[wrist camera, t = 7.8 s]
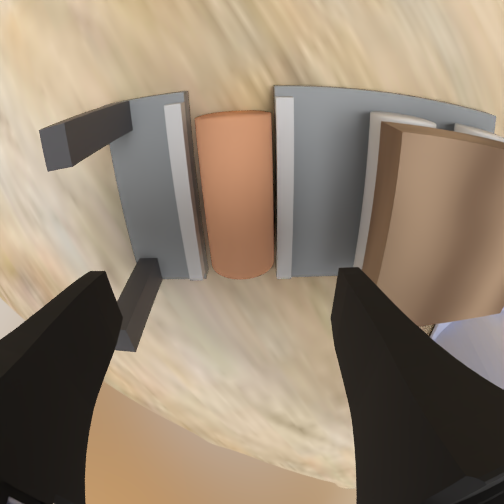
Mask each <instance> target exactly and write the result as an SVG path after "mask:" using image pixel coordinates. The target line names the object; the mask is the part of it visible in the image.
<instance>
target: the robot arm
mask: <svg viewBox="0 0 504 504" xmlns="http://www.w3.org/2000/svg"><path fill="white" fill-rule="evenodd" d="M122 320H123V316H122V314H121V311H120V309H119V306H118V304H117V301H116V299H115V296H114V294H113V291H112V288H111V286H110V283H109V280H108V277H107V274H106V272H105V271H90V272H88V273H86V274H85V275H83V276H82V277H81V278H79V279H78V280H76V281H75V282H74V283H72V284H71V285H70V286H69V287H67V288H66V289H65V290H64V291H62V292H61V293H60V294H59V295H57V296H56V297H55V298H54V299H52V300H51V301H50V302H49V303H47V304H46V305H45V306H44V307H43V308H41V309H40V310H39V311H38V312H36V313H35V314H34V315H32V316H31V317H30V318H29V319H27V320H26V321H25V322H24V323H22V324H21V325H20V326H19V327H18V328H16V329H15V330H13V331H12V332H11V333H9V334H8V335H6V336H5V337H3V338H2V339H1V340H0V504H53V503H54V504H85V463H86V452H87V451H86V450H87V444H88V436H89V430H90V424H91V419H92V415H93V410H94V406H95V403H96V399H97V396H98V393H99V391H100V388H101V385H102V382H103V380H104V377H105V374H106V371H107V369H108V366H109V364H110V361H111V358H112V355H113V353H114V350H115V347H116V345H117V341H118V337H119V333H120V329H121V325H122ZM331 324H332V331H333V339H334V346H335V350H336V354H337V358H338V362H339V366H340V370H341V374H342V378H343V382H344V386H345V390H346V394H347V398H348V403H349V407H350V412H351V418H352V425H353V435H354V445H355V460H356V486H357V504H504V307H503V309H502V311H501V313H499V314H494V315H489V316H483V317H478V318H472V319H466V320H460V321H453V322H447V323H440V324H436V325H435V327H434V329H433V332H432V334H431V336H430V337H429V336H428V335H427V334H426V333H425V332H424V331H422V330H421V329H420V328H419V327H418V326H417V325H416V324H415V323H414V322H413V321H412V320H410V319H409V318H408V317H407V316H406V315H405V314H404V313H403V312H402V311H401V310H400V309H399V308H398V307H397V306H396V305H395V304H394V303H393V302H392V301H391V300H390V299H389V298H388V297H387V296H386V295H385V294H384V293H383V292H382V291H381V289H380V288H379V287H378V286H377V285H376V284H375V283H374V282H373V281H372V280H371V279H370V278H369V277H368V276H367V275H366V274H365V273H364V272H363V271H362V270H361V269H360V268H359V267H343V268H339V270H338V277H337V283H336V290H335V296H334V302H333V308H332V314H331Z"/></svg>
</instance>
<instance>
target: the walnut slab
mask: <svg viewBox="0 0 504 504" xmlns="http://www.w3.org/2000/svg"><path fill="white" fill-rule="evenodd" d="M362 271H363V272H364V273H365V274H366V275H367V276H368V277H369V278H370V279H371V280H372V281H373V282H374V283H375V284H376V285H377V286H378V287H379V288H380V289H381V291H382V292H383V293H384V294H385V295H386V296H387V297H388V298H389V299H390V300H391V301H392V302H393V303H394V304H395V305H396V306H397V307H398V308H399V309H400V310H401V311H402V312H403V313H404V314H405V315H406V316H407V317H408V318H409V319H410V320H412V321H413V322H414V323H415V324H416V325H417V326H425V325H433V324H440V323H447V322H453V321H460V320H466V319H472V318H478V317H483V316H489V315H494V314H499V313H501V311H502V309H503V307H504V142H500V141H496V140H492V139H488V138H484V137H479V136H474V135H470V134H465V133H460V132H454V131H449V130H443V129H437V128H431V127H424V126H417V125H410V124H402V123H393V122H384V121H381V128H380V142H379V153H378V164H377V173H376V182H375V190H374V198H373V206H372V213H371V219H370V226H369V232H368V238H367V244H366V250H365V256H364V261H363V266H362Z"/></svg>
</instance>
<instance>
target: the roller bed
mask: <svg viewBox="0 0 504 504" xmlns="http://www.w3.org/2000/svg"><path fill="white" fill-rule="evenodd" d="M381 121H384V122H393V123H402V124H410V125H417V126H424V127H431V128H437V129H443V130H449V131H454V132H460V133H465V134H470V135H474V136H479V137H484V138H488V139H492V140H496V141H500V142H504V138H503V137H501V136H499V135H496V134H494V130H495V122H496V116H494V115H491V114H489V113H486V112H482V111H478V110H475V109H471V108H467V107H463V106H459V105H454V104H450V103H446V102H441V101H436V100H431V99H426V98H420V97H415V96H409V95H402V94H396V93H389V92H381V91H372V90H363V89H352V88H340V87H323V86H290V85H274V122H275V181H276V277H277V279H291V277H310V276H338V270H339V268H343V267H359V268H360V269H361V270H362V266H363V261H364V256H365V250H366V244H367V238H368V232H369V226H370V219H371V213H372V206H373V198H374V190H375V182H376V173H377V164H378V153H379V142H380V128H381ZM39 133H40V138H41V143H42V148H43V153H44V157H45V162H46V166H47V170H48V171H53V170H58V169H63V168H68V167H73V166H74V165H76V164H77V163H79V162H80V161H82V160H83V159H85V158H87V157H88V156H90V155H91V154H93V153H95V152H96V151H98V150H99V149H101V148H103V147H104V146H106V145H108V144H110V150H111V156H112V161H113V166H114V171H115V176H116V181H117V186H118V191H119V195H120V200H121V204H122V209H123V213H124V217H125V221H126V225H127V229H128V233H129V237H130V241H131V245H132V248H133V252H134V256H135V259H136V263H137V264H136V266H135V268H134V270H133V272H132V274H131V276H130V277H129V279H128V281H127V283H126V285H125V287H124V289H123V291H122V293H121V295H120V297H119V299H118V301H117V304H118V306H119V309H120V311H121V314H122V316H123V320H122V325H121V329H120V333H119V337H118V341H117V345H116V347H115V350H119V351H130V352H136V350H137V347H138V344H139V341H140V338H141V336H142V333H143V330H144V327H145V324H146V322H147V319H148V316H149V313H150V311H151V308H152V305H153V303H154V300H155V297H156V295H157V292H158V290H159V287H160V284H161V282H162V279H190V280H204V279H206V278H207V273H208V263H207V256H206V249H205V242H204V234H203V227H202V219H201V211H200V203H199V195H198V187H197V178H196V169H195V160H194V151H193V141H192V131H191V120H190V109H189V97H188V91H182V92H175V93H167V94H160V95H154V96H148V97H142V98H136V99H131V100H126V101H120V102H116V103H111V104H108V105H105V106H103V107H100V108H97V109H94V110H91V111H88V112H85V113H82V114H79V115H76V116H74V117H71V118H68V119H66V120H63V121H60V122H58V123H55V124H53V125H50V126H48V127H45V128H43V129H41V130H39Z"/></svg>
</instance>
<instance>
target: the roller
mask: <svg viewBox="0 0 504 504" xmlns="http://www.w3.org/2000/svg"><path fill="white" fill-rule="evenodd" d="M195 126H196V137H197V147H198V156H199V165H200V175H201V183H202V192H203V200H204V208H205V216H206V224H207V232H208V240H209V247H210V254H211V261H212V267H213V269H214V270H215V271H216V272H217V273H218V274H220V275H222V276H224V277H227V278H231V279H250V278H254V277H257V276H260V275H262V274H264V273H266V272H267V271H268V270H269V269H270V268H271V267H272V265H273V263H274V213H273V160H272V123H271V113H270V112H266V111H254V110H247V111H229V112H217V113H211V114H206V115H202V116H199V117H196V118H195Z"/></svg>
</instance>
